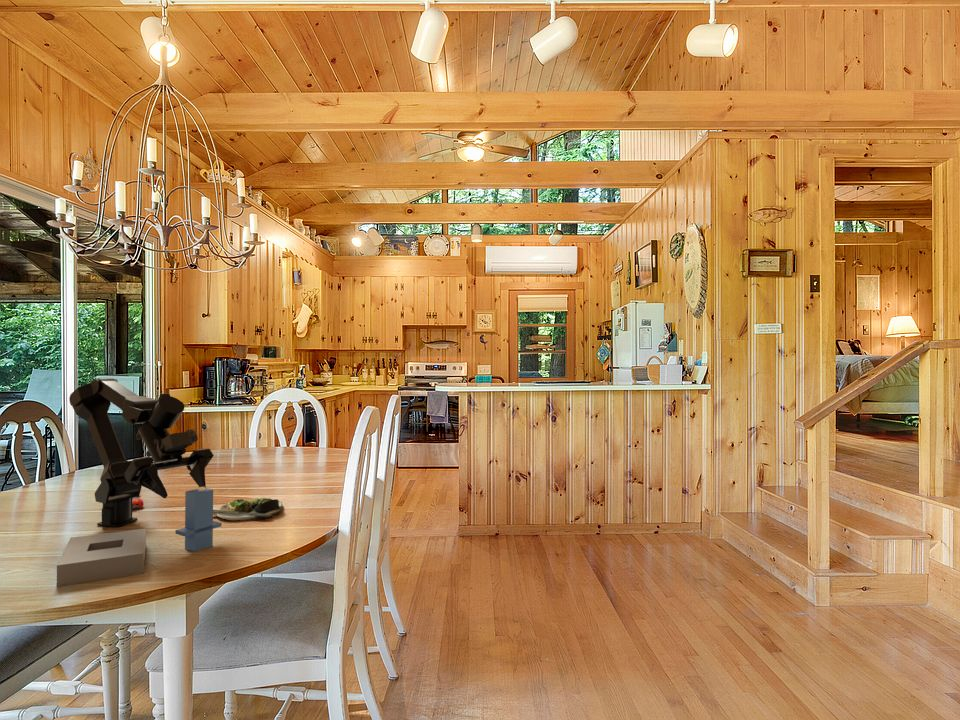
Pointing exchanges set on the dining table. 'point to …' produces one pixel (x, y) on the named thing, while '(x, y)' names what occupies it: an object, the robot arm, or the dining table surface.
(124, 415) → the robot arm
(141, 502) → the race car
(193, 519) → the servo
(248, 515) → the salad plate
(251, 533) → the dining table surface
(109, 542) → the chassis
